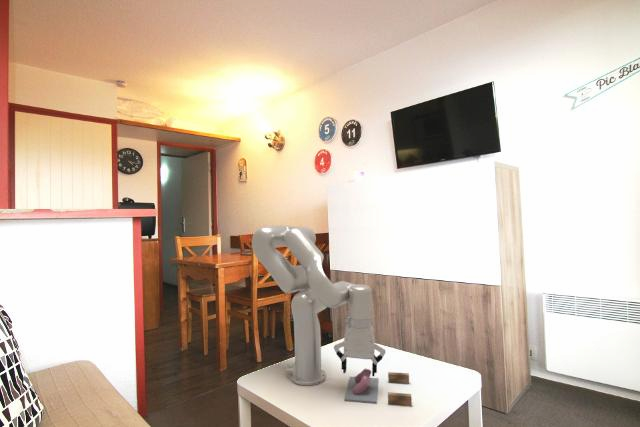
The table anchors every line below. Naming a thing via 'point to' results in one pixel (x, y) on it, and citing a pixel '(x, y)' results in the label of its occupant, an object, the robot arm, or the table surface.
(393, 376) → the dock
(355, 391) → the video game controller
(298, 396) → the table surface
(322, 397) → the table surface
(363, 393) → the mat
